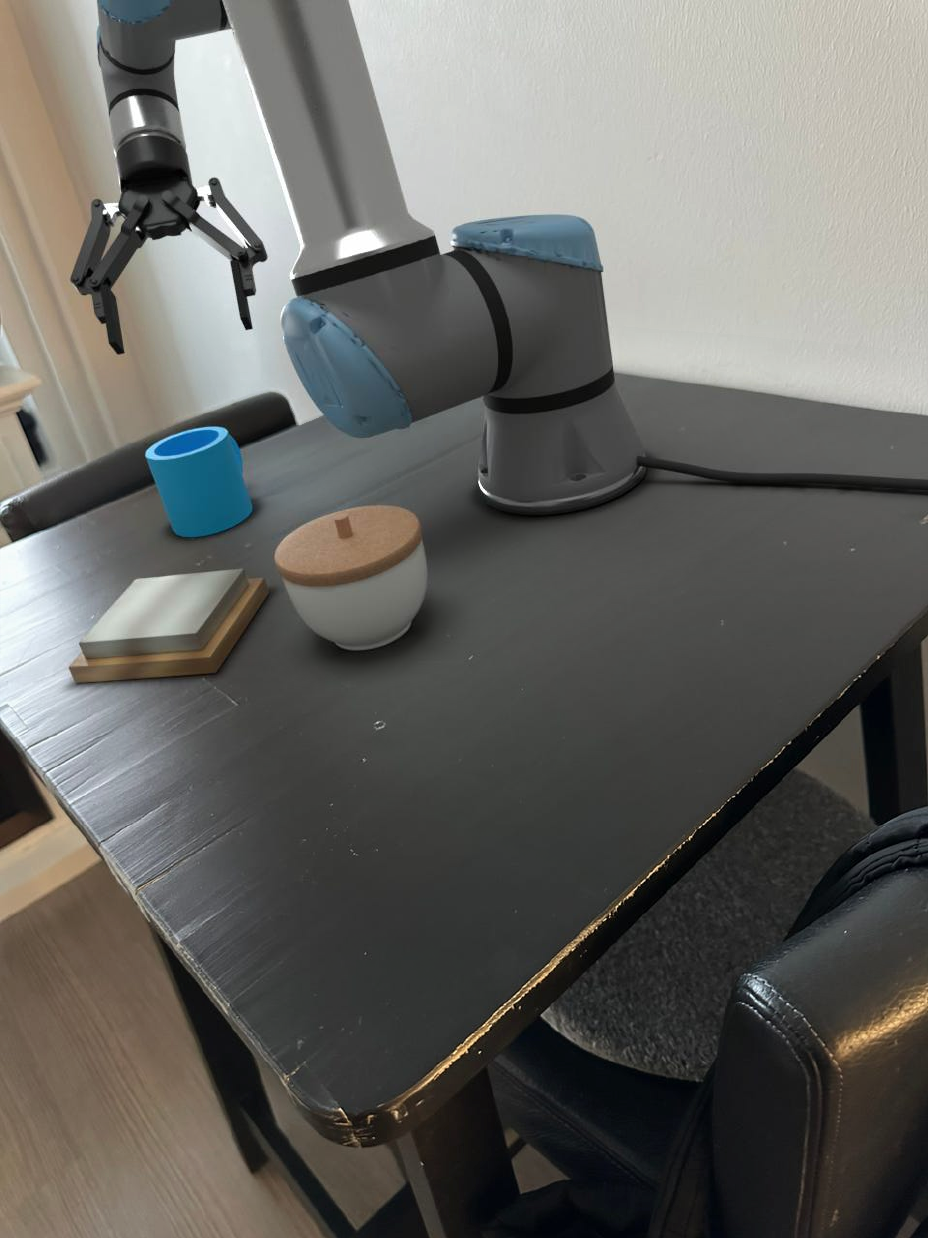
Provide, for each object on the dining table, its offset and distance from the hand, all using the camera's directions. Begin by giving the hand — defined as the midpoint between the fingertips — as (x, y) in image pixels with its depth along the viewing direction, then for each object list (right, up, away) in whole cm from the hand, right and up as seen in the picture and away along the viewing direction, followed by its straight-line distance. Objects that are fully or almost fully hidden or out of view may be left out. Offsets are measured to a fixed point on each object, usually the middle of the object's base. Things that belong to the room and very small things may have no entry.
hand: (181, 336), depth 106 cm
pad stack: (+6, -31, -24) cm, 39 cm away
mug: (+5, -18, -1) cm, 19 cm away
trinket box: (+22, -30, -29) cm, 47 cm away
